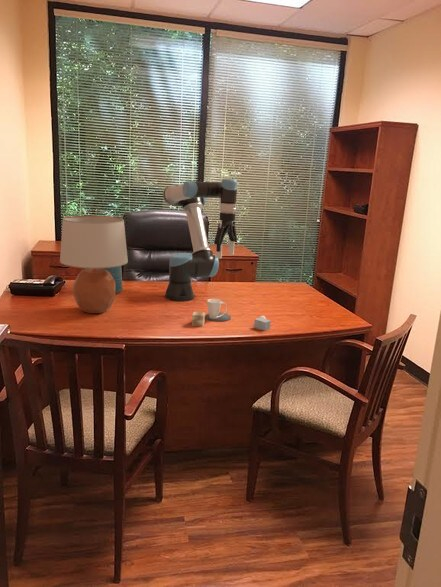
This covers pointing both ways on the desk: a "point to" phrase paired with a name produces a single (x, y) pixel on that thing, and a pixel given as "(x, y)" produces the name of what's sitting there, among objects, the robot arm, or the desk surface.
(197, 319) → the birch block
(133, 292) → the desk surface
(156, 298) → the desk surface
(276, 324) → the desk surface
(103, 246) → the lamp
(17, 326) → the desk surface
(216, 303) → the cup
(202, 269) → the robot arm
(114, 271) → the vase
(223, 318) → the coaster
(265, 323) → the greyblue block
